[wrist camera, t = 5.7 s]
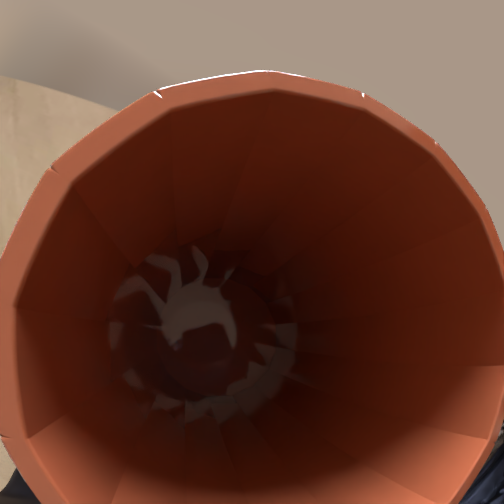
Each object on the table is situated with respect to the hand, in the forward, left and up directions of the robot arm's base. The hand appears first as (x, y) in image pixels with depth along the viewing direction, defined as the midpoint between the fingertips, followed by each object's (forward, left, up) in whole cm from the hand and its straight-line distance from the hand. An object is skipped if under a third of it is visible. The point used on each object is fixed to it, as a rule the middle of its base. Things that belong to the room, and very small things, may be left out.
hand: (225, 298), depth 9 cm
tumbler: (-1, 0, -7) cm, 7 cm away
